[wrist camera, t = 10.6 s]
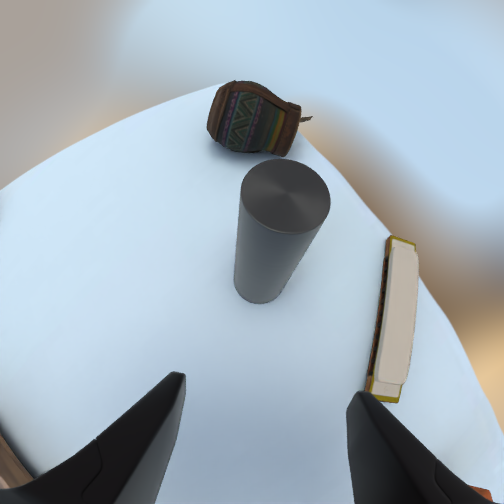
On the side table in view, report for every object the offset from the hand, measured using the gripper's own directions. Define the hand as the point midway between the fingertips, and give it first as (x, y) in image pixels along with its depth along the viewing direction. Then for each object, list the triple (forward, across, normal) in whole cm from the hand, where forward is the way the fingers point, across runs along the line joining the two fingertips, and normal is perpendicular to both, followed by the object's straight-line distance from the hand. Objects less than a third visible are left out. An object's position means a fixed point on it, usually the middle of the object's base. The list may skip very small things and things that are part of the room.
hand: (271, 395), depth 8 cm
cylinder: (+15, 0, +4) cm, 16 cm away
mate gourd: (+23, +7, -10) cm, 26 cm away
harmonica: (+14, -12, +5) cm, 19 cm away
